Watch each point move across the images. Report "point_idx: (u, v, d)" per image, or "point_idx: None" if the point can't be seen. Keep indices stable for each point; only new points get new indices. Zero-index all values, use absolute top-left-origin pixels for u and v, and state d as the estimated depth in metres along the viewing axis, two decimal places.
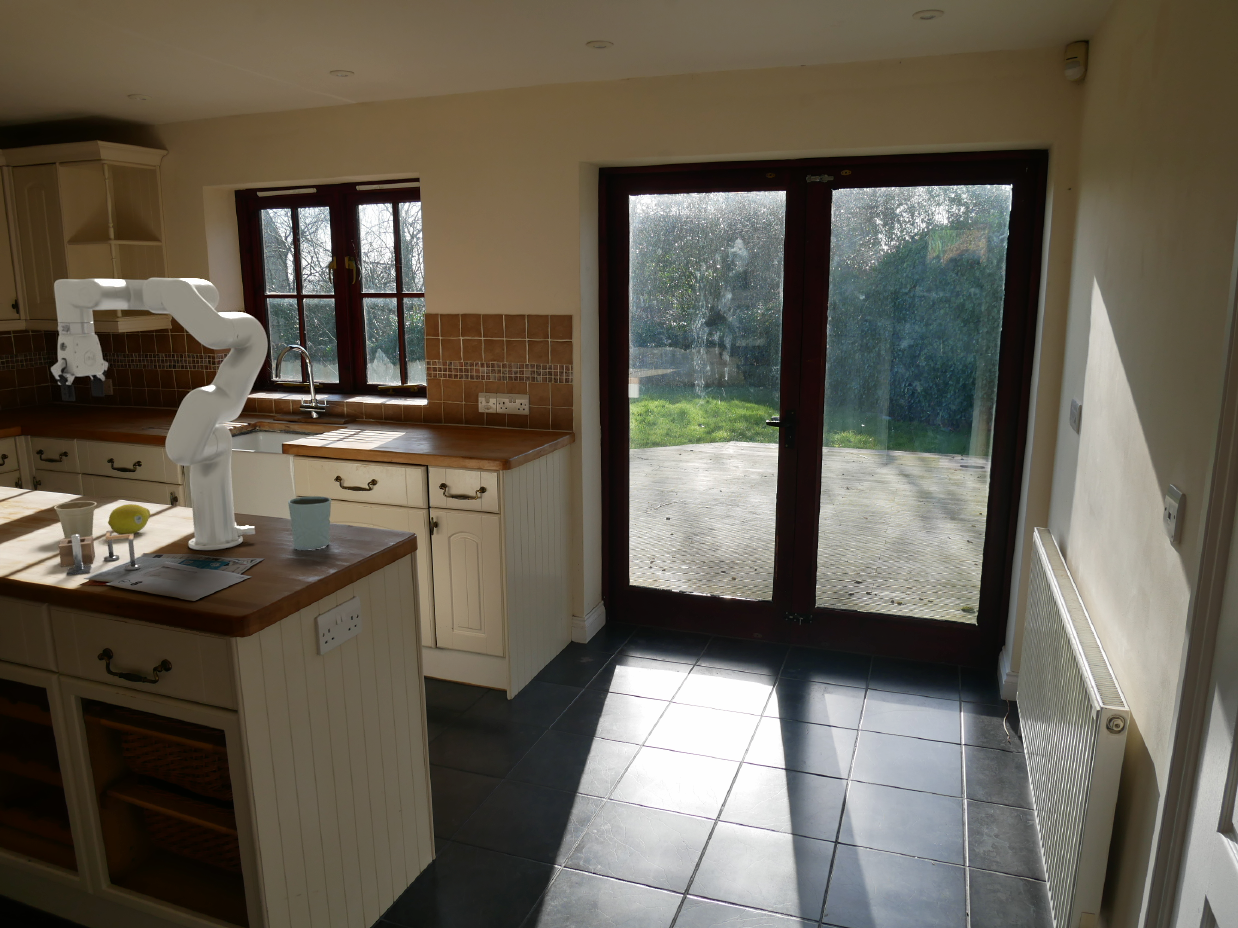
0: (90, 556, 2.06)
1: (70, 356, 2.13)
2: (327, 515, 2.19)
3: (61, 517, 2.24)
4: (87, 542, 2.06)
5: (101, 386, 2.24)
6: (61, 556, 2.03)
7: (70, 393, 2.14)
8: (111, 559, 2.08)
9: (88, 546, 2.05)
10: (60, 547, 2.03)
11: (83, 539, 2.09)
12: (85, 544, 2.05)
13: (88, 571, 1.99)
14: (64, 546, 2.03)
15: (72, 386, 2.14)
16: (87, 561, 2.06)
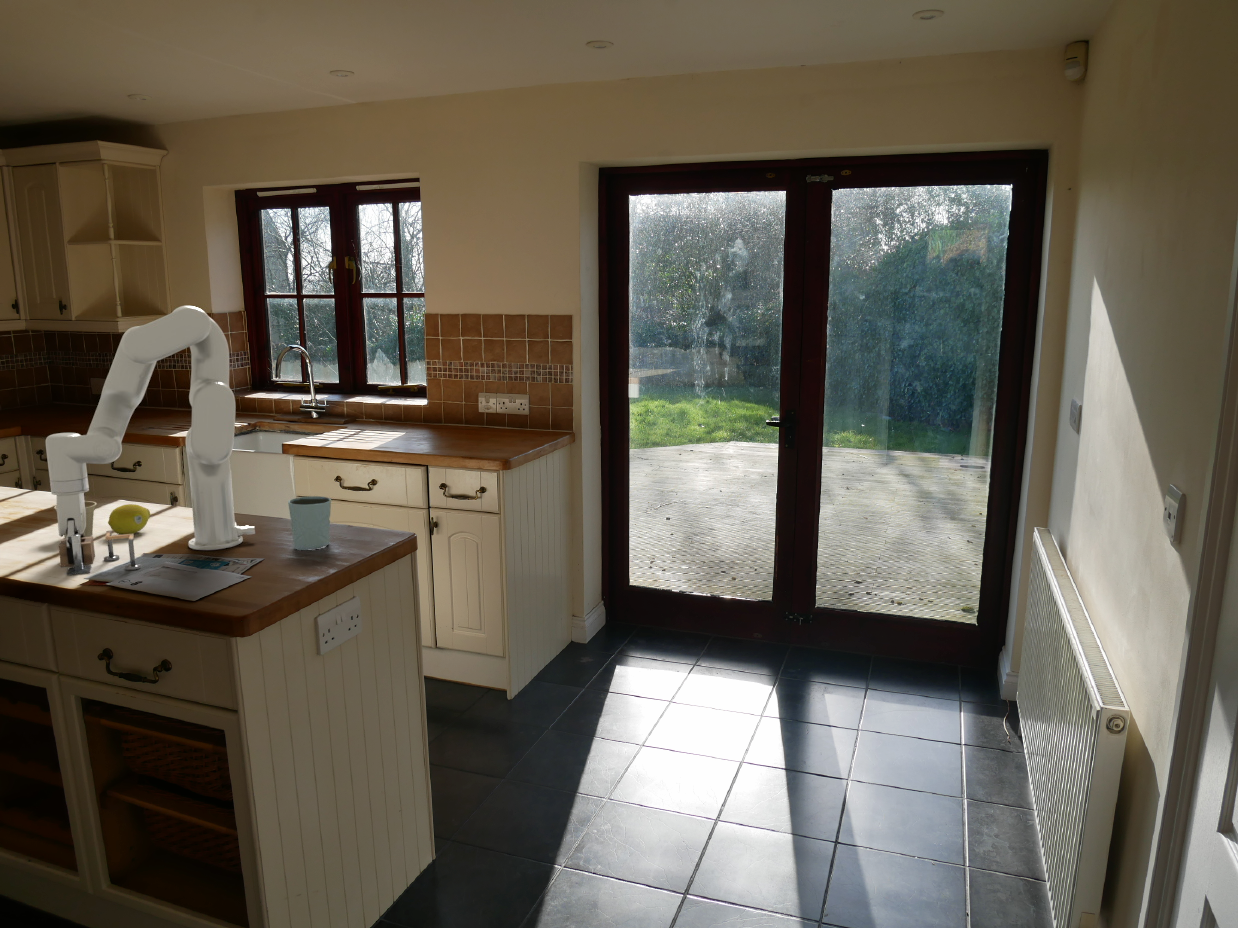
0: (90, 556, 2.06)
1: None
2: (327, 515, 2.19)
3: None
4: (87, 542, 2.06)
5: None
6: (61, 556, 2.03)
7: None
8: (111, 559, 2.08)
9: (88, 546, 2.05)
10: (60, 547, 2.03)
11: (83, 539, 2.09)
12: (85, 544, 2.05)
13: (88, 571, 1.99)
14: (64, 546, 2.03)
15: None
16: (87, 561, 2.06)
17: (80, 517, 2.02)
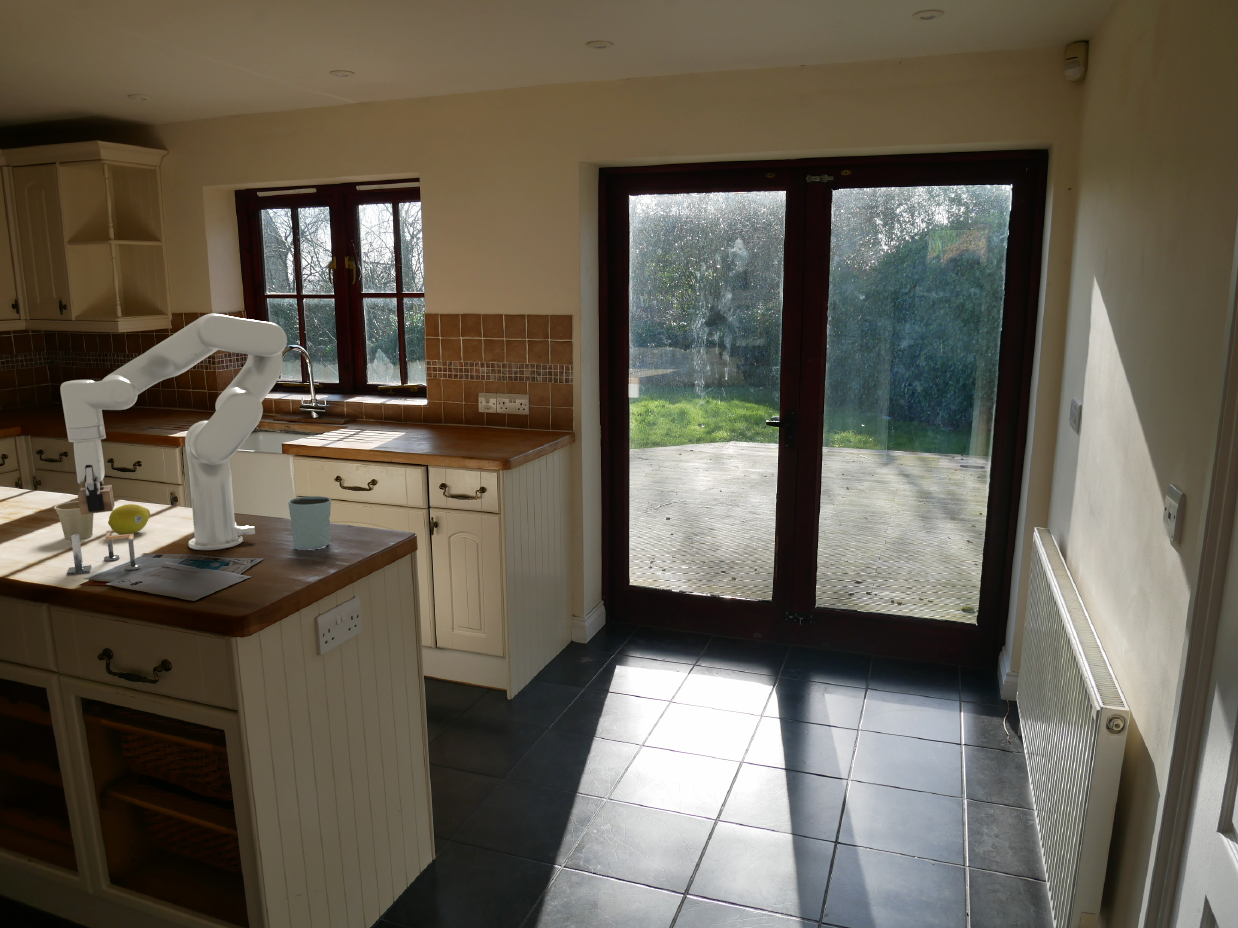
0: (109, 504, 2.05)
1: None
2: (327, 515, 2.19)
3: (61, 517, 2.24)
4: (106, 490, 2.05)
5: None
6: (80, 504, 2.02)
7: None
8: (111, 559, 2.08)
9: (107, 494, 2.04)
10: (79, 495, 2.02)
11: (102, 488, 2.08)
12: (104, 492, 2.04)
13: (88, 571, 1.99)
14: (83, 494, 2.02)
15: None
16: (107, 509, 2.05)
17: (98, 464, 2.01)
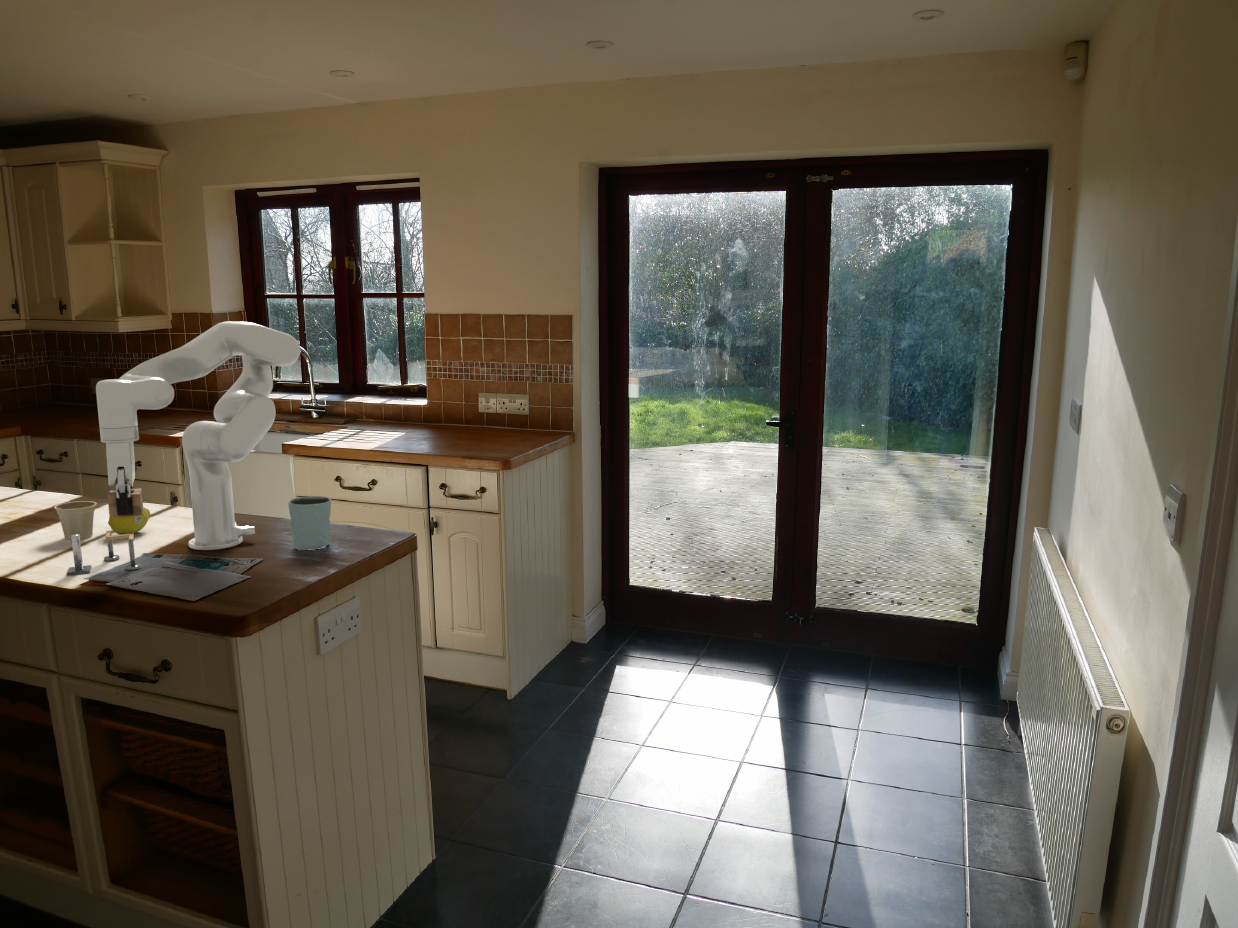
0: (139, 508, 1.98)
1: None
2: (327, 515, 2.19)
3: (61, 517, 2.24)
4: (136, 493, 1.98)
5: None
6: (110, 507, 1.96)
7: None
8: (111, 559, 2.08)
9: (137, 497, 1.98)
10: (109, 497, 1.95)
11: (131, 491, 2.02)
12: (134, 495, 1.98)
13: (88, 571, 1.99)
14: (113, 496, 1.96)
15: None
16: (136, 513, 1.98)
17: (130, 466, 1.95)
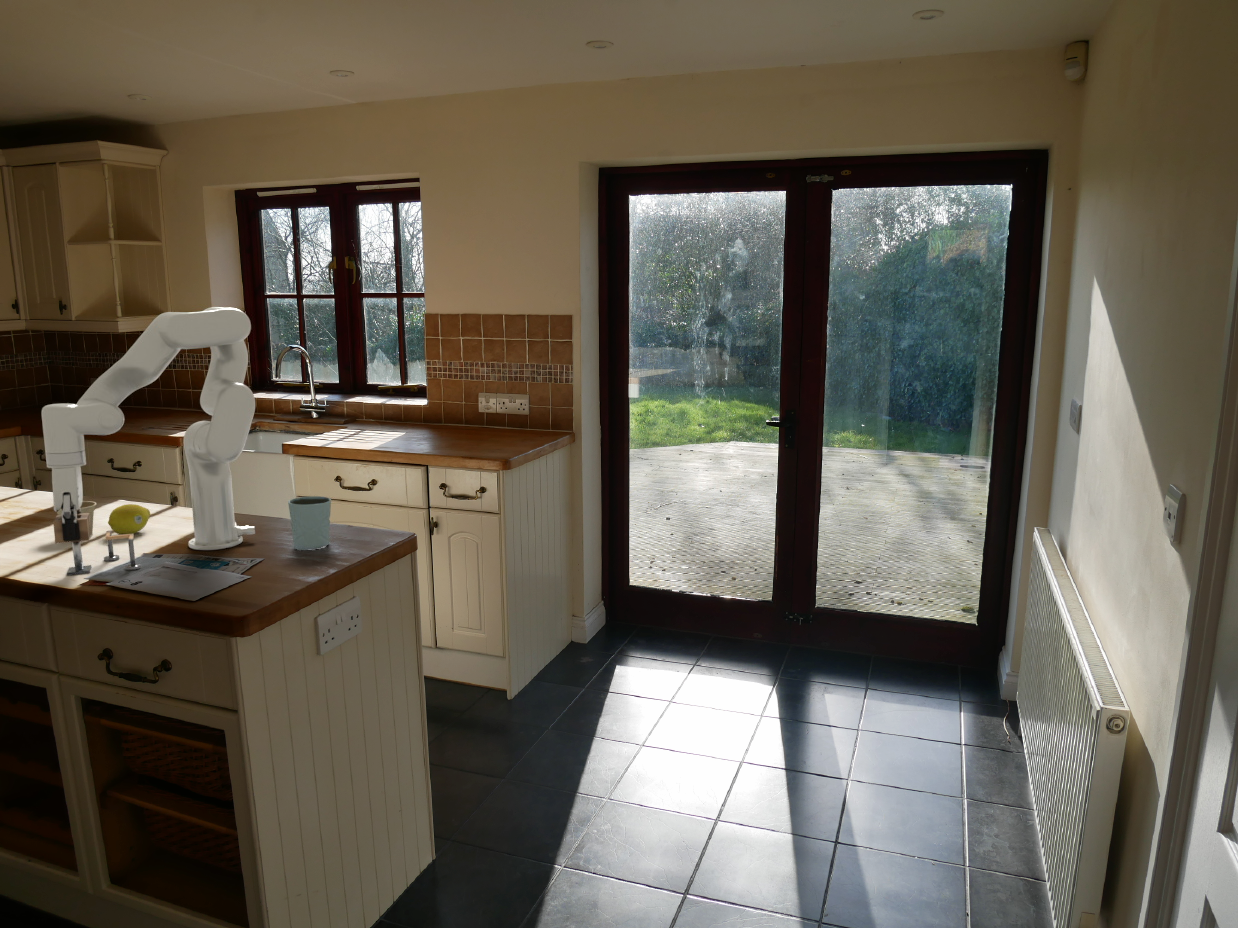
0: (86, 533, 1.96)
1: None
2: (327, 515, 2.19)
3: None
4: (83, 518, 1.96)
5: None
6: (56, 532, 1.94)
7: None
8: (111, 559, 2.08)
9: (84, 522, 1.96)
10: (55, 523, 1.93)
11: (79, 515, 2.00)
12: (81, 520, 1.96)
13: (88, 571, 1.99)
14: (59, 522, 1.94)
15: None
16: (83, 538, 1.96)
17: (76, 492, 1.93)
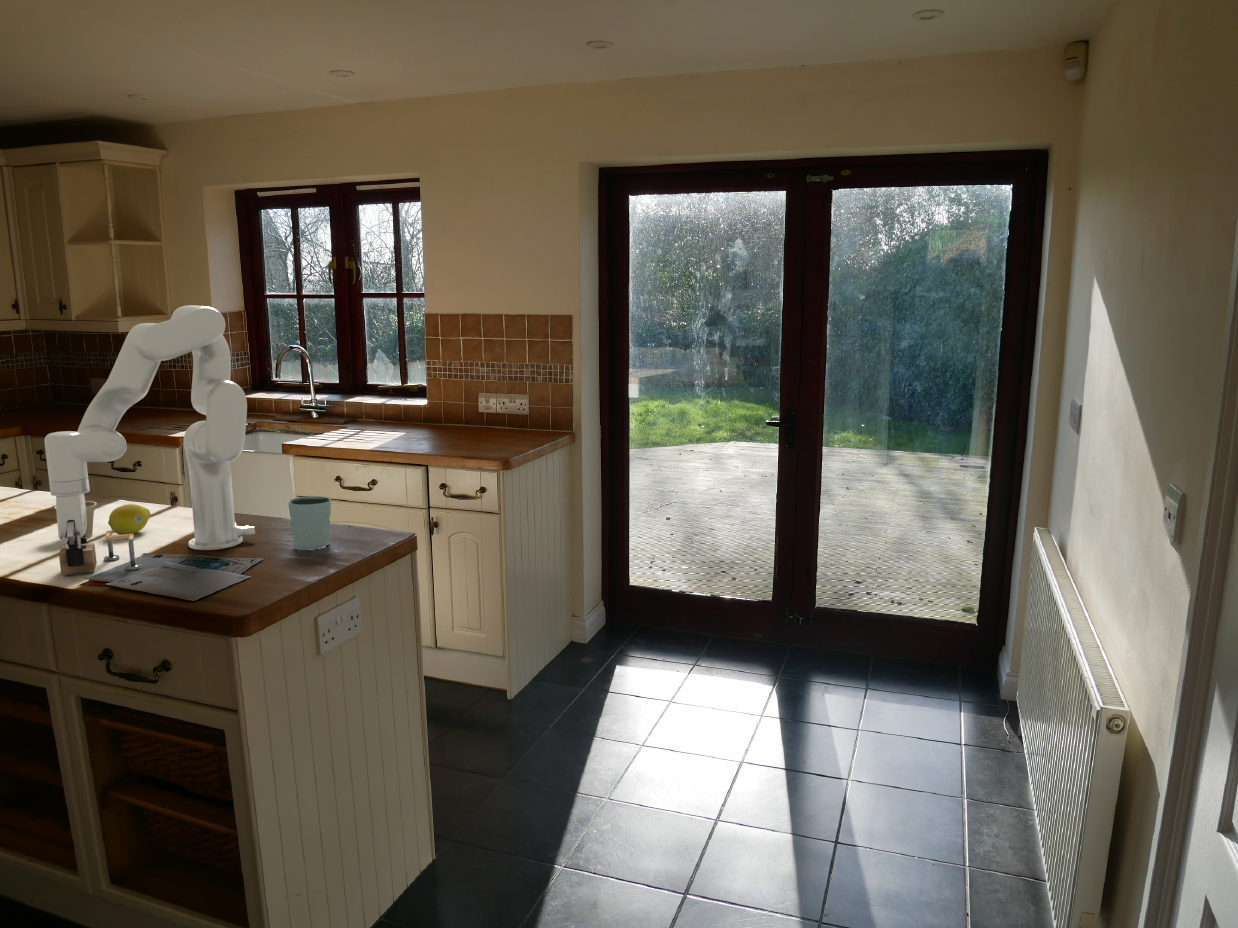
0: (91, 563, 1.98)
1: None
2: (327, 515, 2.19)
3: None
4: (88, 549, 1.98)
5: None
6: (61, 563, 1.96)
7: None
8: (111, 559, 2.08)
9: (89, 553, 1.98)
10: (60, 554, 1.95)
11: (84, 546, 2.01)
12: (86, 551, 1.97)
13: None
14: (64, 553, 1.95)
15: None
16: (88, 569, 1.98)
17: (81, 519, 1.94)
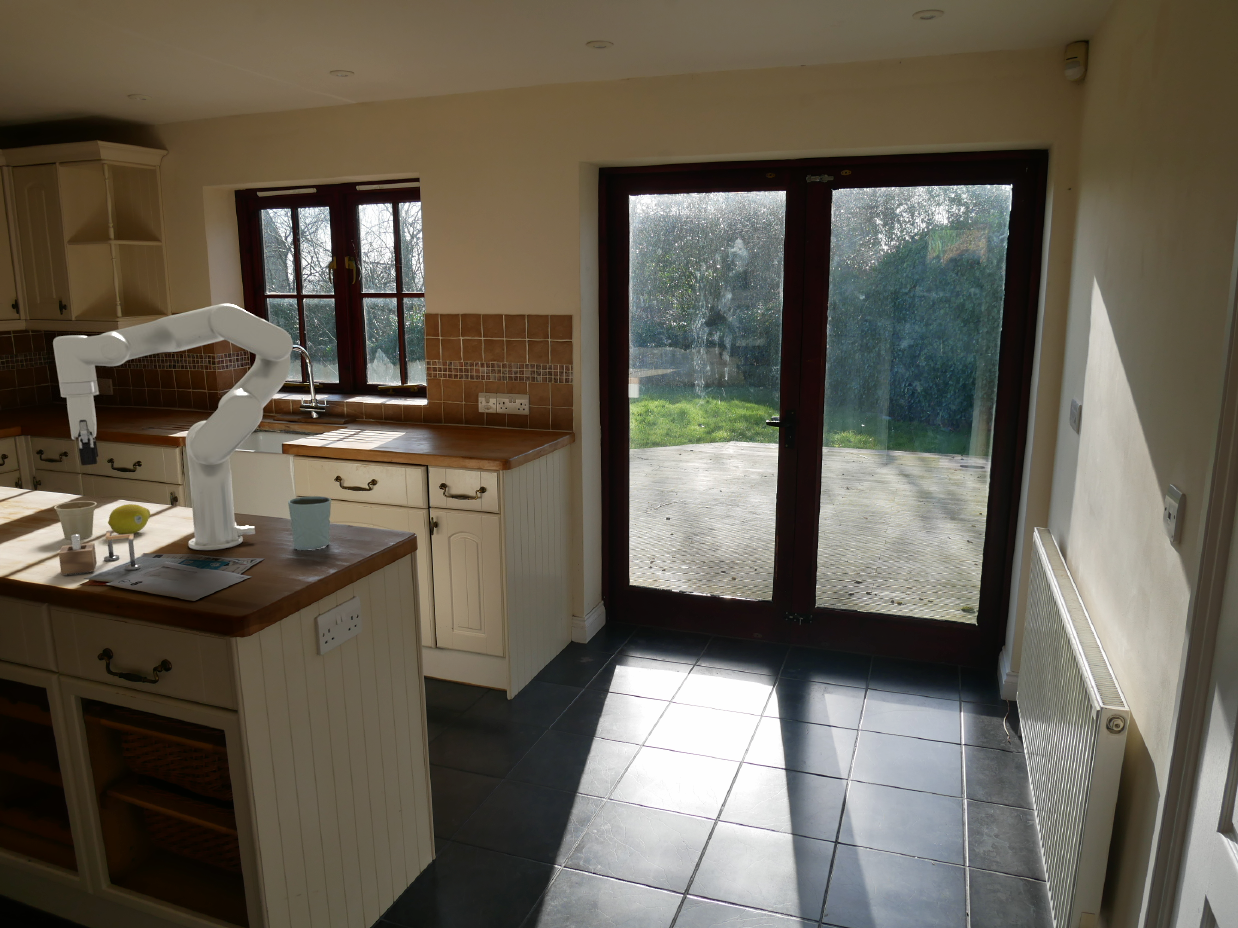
0: (91, 563, 1.98)
1: None
2: (327, 515, 2.19)
3: (61, 517, 2.24)
4: (88, 549, 1.98)
5: None
6: (61, 563, 1.96)
7: None
8: (111, 559, 2.08)
9: (89, 553, 1.98)
10: (60, 554, 1.95)
11: (84, 546, 2.01)
12: (86, 551, 1.97)
13: None
14: (64, 553, 1.95)
15: None
16: (88, 569, 1.98)
17: (92, 419, 2.01)
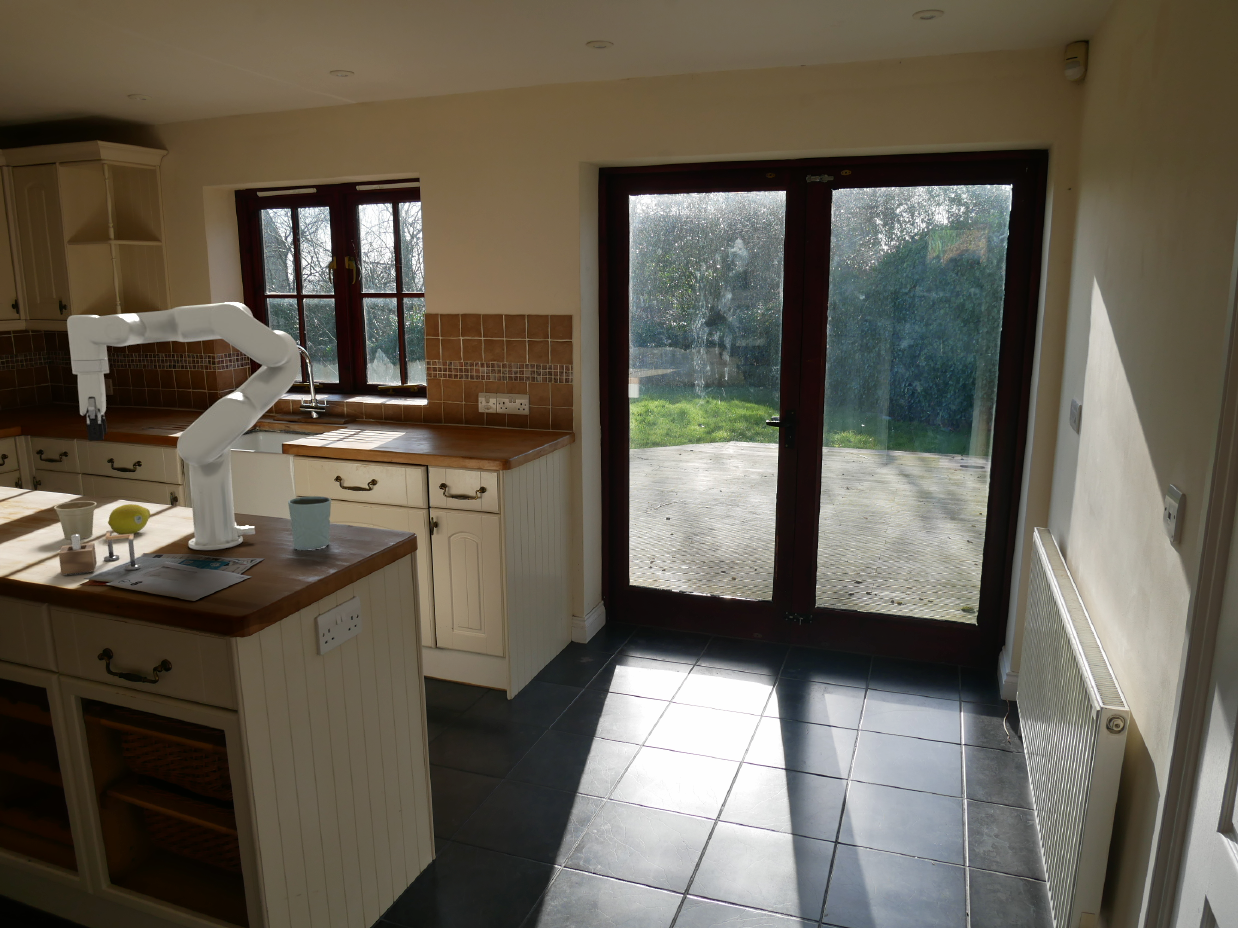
0: (91, 563, 1.98)
1: None
2: (327, 515, 2.19)
3: (61, 517, 2.24)
4: (88, 549, 1.98)
5: None
6: (61, 563, 1.96)
7: None
8: (111, 559, 2.08)
9: (89, 553, 1.98)
10: (60, 554, 1.95)
11: (84, 546, 2.01)
12: (86, 551, 1.97)
13: None
14: (64, 553, 1.95)
15: None
16: (88, 569, 1.98)
17: (101, 397, 2.07)
